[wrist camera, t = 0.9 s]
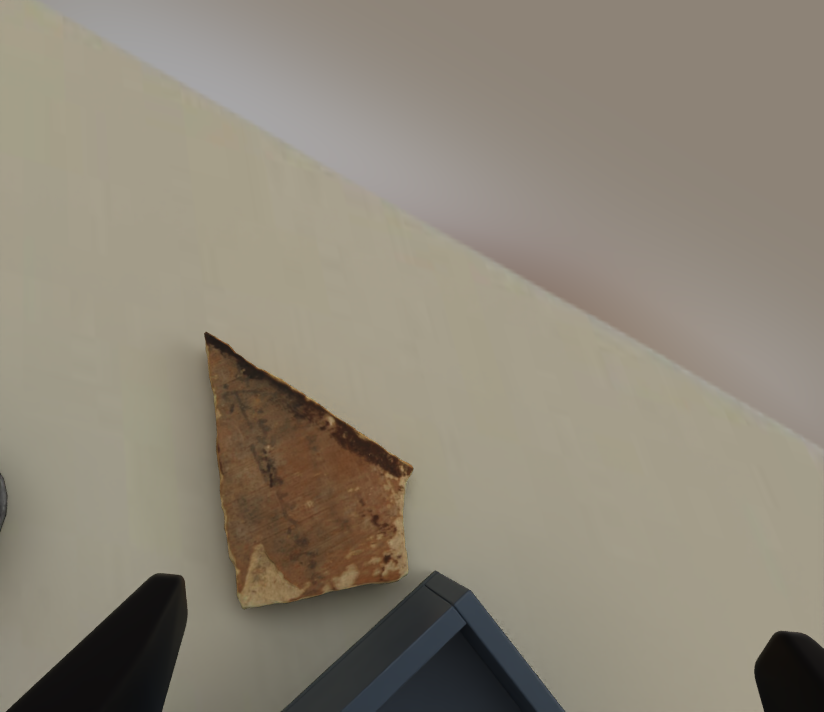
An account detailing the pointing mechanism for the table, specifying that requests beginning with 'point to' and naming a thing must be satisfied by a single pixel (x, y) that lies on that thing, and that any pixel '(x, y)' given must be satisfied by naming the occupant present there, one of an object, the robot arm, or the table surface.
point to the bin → (430, 662)
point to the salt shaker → (2, 501)
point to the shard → (300, 490)
